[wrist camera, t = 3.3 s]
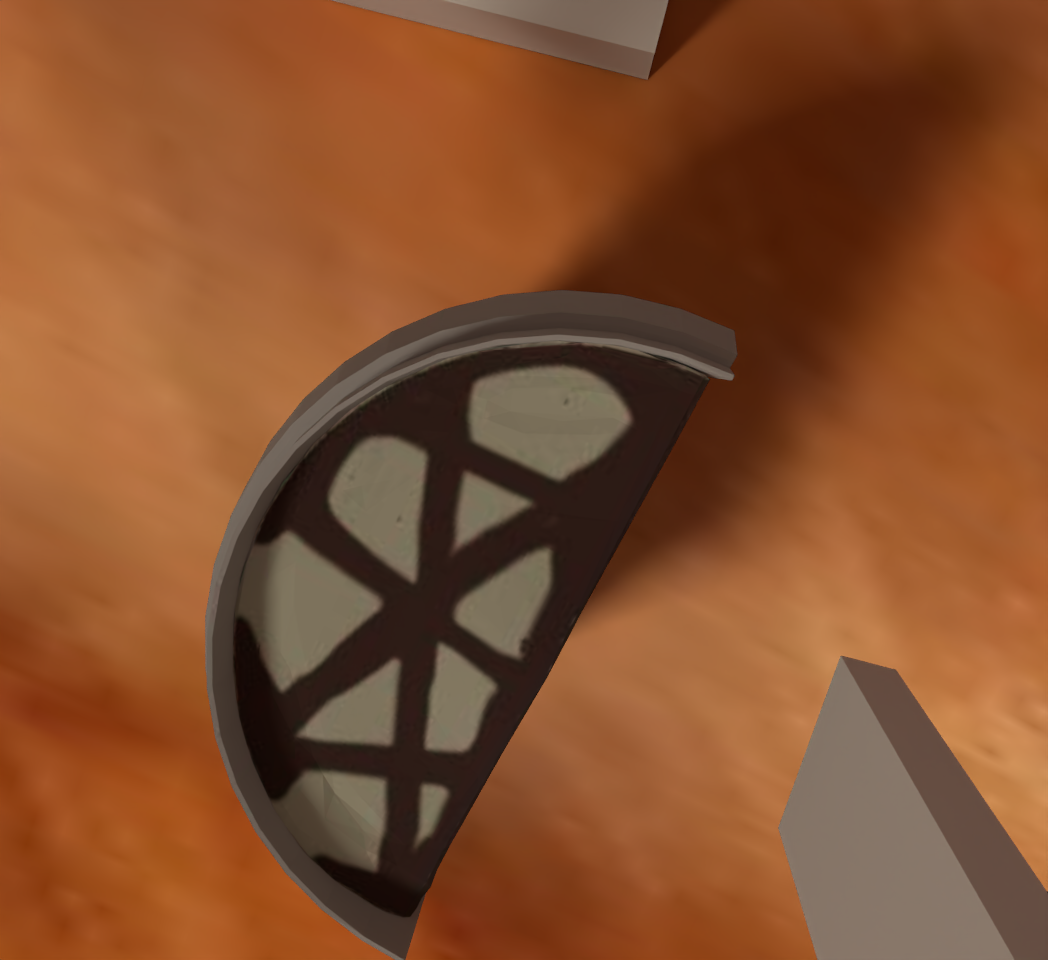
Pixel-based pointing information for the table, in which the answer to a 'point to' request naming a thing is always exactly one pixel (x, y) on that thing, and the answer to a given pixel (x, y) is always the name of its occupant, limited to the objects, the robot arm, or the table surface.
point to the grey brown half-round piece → (430, 573)
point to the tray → (548, 26)
